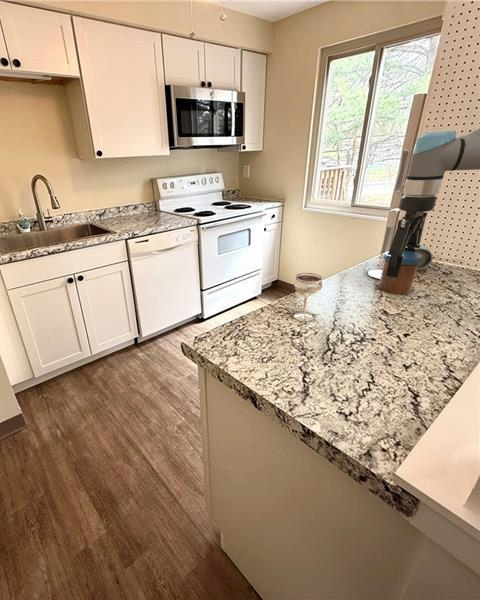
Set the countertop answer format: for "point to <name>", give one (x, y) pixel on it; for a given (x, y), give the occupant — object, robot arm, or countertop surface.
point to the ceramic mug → (424, 257)
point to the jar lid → (406, 258)
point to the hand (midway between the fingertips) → (398, 272)
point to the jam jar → (398, 279)
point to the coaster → (375, 274)
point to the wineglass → (307, 290)
